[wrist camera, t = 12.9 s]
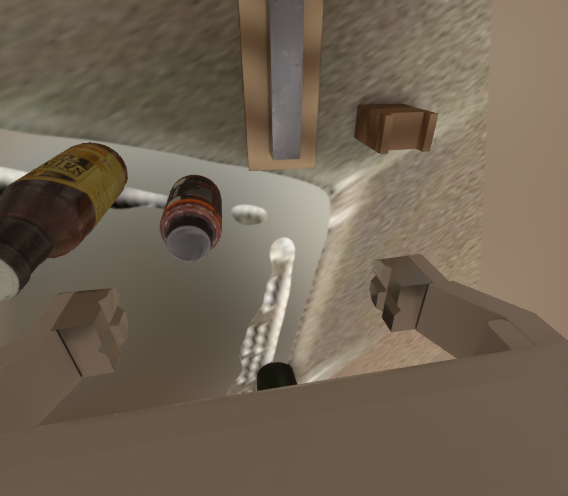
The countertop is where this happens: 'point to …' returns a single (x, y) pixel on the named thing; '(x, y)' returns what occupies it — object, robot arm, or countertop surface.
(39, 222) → the sauce bottle
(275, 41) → the rail
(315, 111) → the wooden plank
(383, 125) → the post
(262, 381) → the potion bottle
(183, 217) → the supplement bottle
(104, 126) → the countertop surface
